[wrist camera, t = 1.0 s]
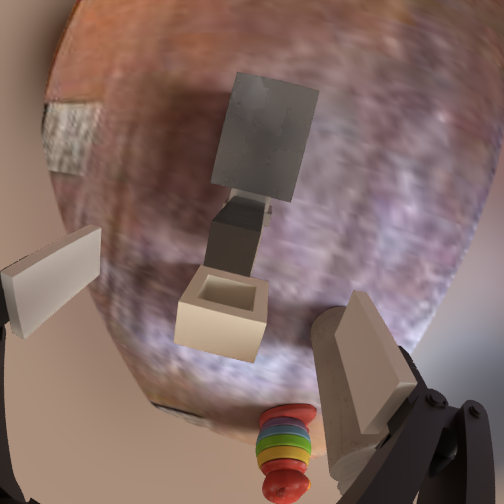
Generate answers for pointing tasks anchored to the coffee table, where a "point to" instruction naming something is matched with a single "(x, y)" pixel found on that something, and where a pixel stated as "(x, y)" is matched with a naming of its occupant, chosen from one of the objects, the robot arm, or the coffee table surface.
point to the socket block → (223, 314)
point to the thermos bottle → (339, 405)
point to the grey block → (264, 136)
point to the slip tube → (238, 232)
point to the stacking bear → (285, 451)
